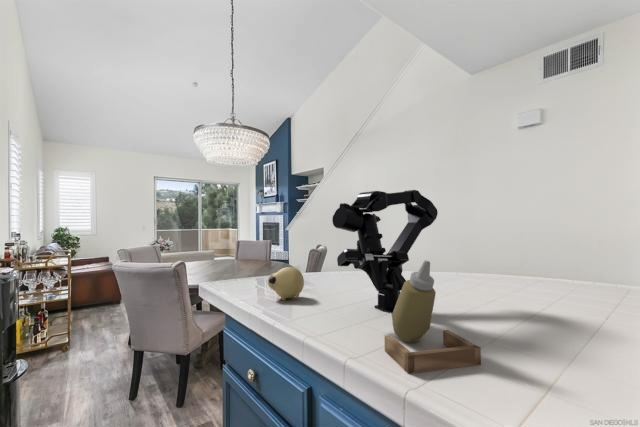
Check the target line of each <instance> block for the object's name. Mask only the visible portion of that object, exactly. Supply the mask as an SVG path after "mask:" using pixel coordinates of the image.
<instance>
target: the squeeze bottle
mask: <svg viewBox="0 0 640 427" xmlns="http://www.w3.org/2000/svg"><path fill="white" fill-rule="evenodd" d="M430 272H431V262H430V261H429V260H426V259H425V260H424V261H423V262H422V264H421V266H420V268H419V269H418V271H414V272H412V273H411V274H410V278H409V279H406V282H404V285H403V287H402V290H400V295H399V297H398V300H397V303H396V305H395V308H394V310H393V312H391V313H392V314H391V319H392V327H393V328H392V329H393V332H394V334H395V335H396V336H397V338H399V339H400V340H402V341H404V342H407V343H417V342H419V341H420V340H421V339H422V338H423V336H425V334H426V333H427V332H428V331H429V330H430V327H431V322H432V321H431V320H432V316H433V311H434V305H435V299H436V290H435V288H434V284H435V280H434V279H435V278H433V277H432V276H431V275H430V274H431V273H430Z"/></svg>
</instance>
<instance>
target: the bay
mask: <svg viewBox="0 0 640 427" xmlns="http://www.w3.org/2000/svg"><path fill="white" fill-rule="evenodd" d="M442 341H443V342H442V345H443V346H444V347H446V348H437V349H436V348H435V349H434V348H433V349H425V350H418V351H410V350H409V349H408V348H406V346H404V345H403V344H402V343H400V341H398V340H396V338H394V337H393V336H392V335H389V334H388V335H387V334H386V335H384V352H385V353H386V354H387V355H388V356H389V357H390V358H391V359H392V360H393V361H394V362H396V364H398V365H399V367H401V369H403V370H404V372H406V373H407V374H415V373H416V374H417V373H424V372H425V373H426V372H431V371H438V370H439V371H440V370H447V369H456V368H462V367H470V366H471V367H472V366H479V365H481V364H482V354H481V353H482V352H481V350H482V349H481V346H478V345H476V344H475V343H473V342H472V341H470V340H467V339H466V338H464V337H462V336H460V335H458V334H456V333H455V332H453V331H451V330H449V329H444V330H442Z"/></svg>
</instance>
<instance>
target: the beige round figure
mask: <svg viewBox="0 0 640 427" xmlns="http://www.w3.org/2000/svg"><path fill="white" fill-rule="evenodd" d="M267 285H268V287H269V288H270V289H271V290H272V291H274V292H275V294H277V296H279V297H280V300H281V301H285V300H286V299H291V298H294V297H295V298H299V297H300V294H301V293H302V291H303V289H304V287H305V278H304V276H303V274H302V272H301V271H300V270H299V269H298V268H296V267H292V266H287V267H283V268H281V269H279V270H277V272H273V273H271V274H270V275H269V277H268V278H267Z"/></svg>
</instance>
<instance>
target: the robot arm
mask: <svg viewBox="0 0 640 427" xmlns="http://www.w3.org/2000/svg"><path fill="white" fill-rule="evenodd" d="M413 203H415V204H413ZM402 204H404V208H405V212H406V213H407V220H408V221H407V223H406V225H405V226H404V228H403V229H402V231H401V232H400V234H399V235H398V237H397V238H396V240H395V241H394V243H393V245H392V246H391V247H390V249H389V250H388V252H387V251H386V248H385V247H382V246H383V245H382V241H381V239H383V234H382V233H380V232H379V227H378V224H377V223H379V222H380V221H381V220H382V219H381V218H380V216H377V215H376V214H375V213H373V212H381V211H383V210H386V209H387V208H388V207H390V206H394V205H395V206H396V205H402ZM371 213H372V214H371ZM437 217H438V209H437V207H436V206H435V205H434V203H433V202H432V201H431V200H430V199H429V198H428V197H427V198H426V196H424V195H422V194H421V192H420V191H419V190H416V189H410V190H404V191H398V192H390V193H389V192H385V191H381V190H380V191H379V190H372V191H364V192H360V193H358V194H357V197H356V199H355V200H354V202H353V203H351V205H350V204H348V203H346V202H344V203H342V202H341V203H339V207H338V208H337V209H336V210H335V211H334V213H333V215H332V225H333V226H334V228H336V229H338V230H339V229H340V230H343V231H348V232H350V233H355V232H357V237H358V240H357V241H356V248H344V250H343V251H341V253H339V254H338V256H337V259H336V261H337V267H349V266H350V265H353V268H354V269H357V270H361V271H363V272H365V273H366V275H367V276H368V278H369V279H370V281H371V283H372V285H373V286H374V288H375V290H376V291H377V292H378V293H377V304H376V305H374V308H375V309H378V310H382V311H385V312H388V313H389V312H390V313H393V310H394V308H395V305H396V303H397V300H398V297H399V295H400V292H401V290H402V287H403V285H404V282H406V281H407V279H406V278H405V277H404V276H403V274H402V273H403V265H404V264H406V263H408V262H409V261H410V258H409V254H408V253H409V252H410V250H411V248H412V247H413V245H414V244H415V242H416V240H417V239H418V237H419V236H420V234H421V232H422V231H423V230H425V229H426V228H428V227H429V226H431V225H432V224H433V223H434V222H435V221H436V219H437ZM384 253H385V254H384Z"/></svg>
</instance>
